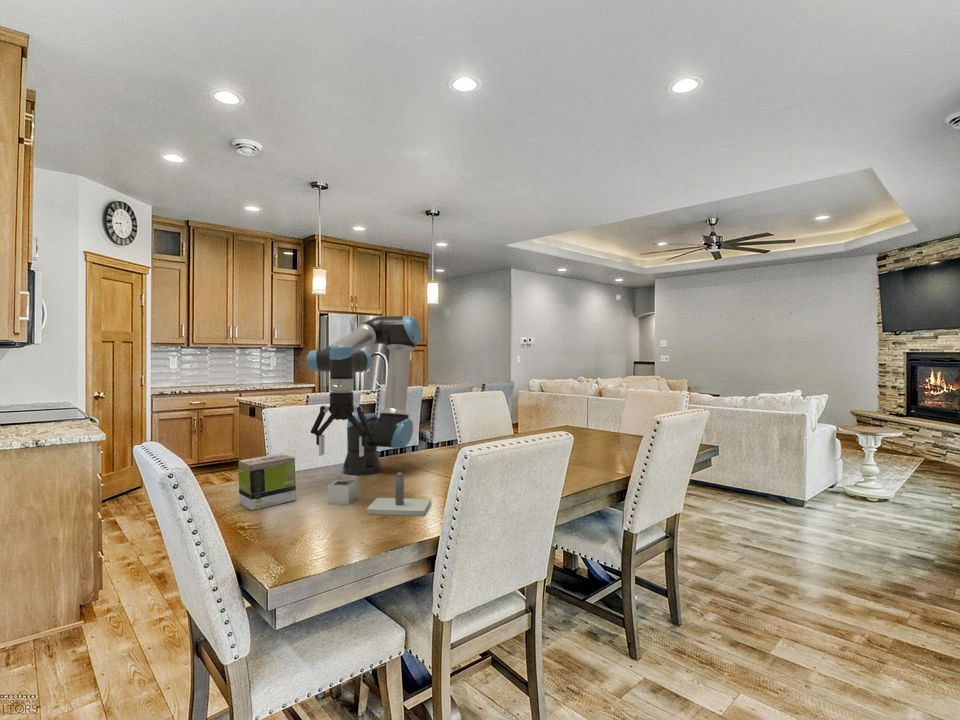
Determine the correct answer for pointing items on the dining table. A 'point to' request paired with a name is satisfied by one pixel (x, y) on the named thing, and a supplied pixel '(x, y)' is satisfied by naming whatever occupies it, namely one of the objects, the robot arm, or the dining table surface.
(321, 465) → the dining table surface
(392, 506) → the post block
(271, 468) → the tea box
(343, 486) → the collar
